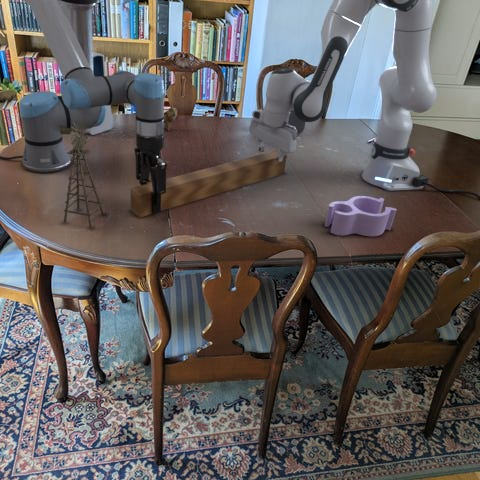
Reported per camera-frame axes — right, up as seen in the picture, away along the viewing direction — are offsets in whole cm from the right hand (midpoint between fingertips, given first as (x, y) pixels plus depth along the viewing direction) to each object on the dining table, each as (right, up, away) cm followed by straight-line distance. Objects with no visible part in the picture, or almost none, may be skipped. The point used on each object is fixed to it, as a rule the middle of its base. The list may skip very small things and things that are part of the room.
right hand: (269, 156), depth 165 cm
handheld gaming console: (+7, +19, +43) cm, 47 cm away
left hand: (-37, -20, -25) cm, 49 cm away
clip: (+25, -26, -22) cm, 42 cm away
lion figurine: (-44, +17, +32) cm, 57 cm away
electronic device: (-69, +15, +25) cm, 75 cm away
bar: (-19, -13, -11) cm, 25 cm away
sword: (+58, +17, +50) cm, 78 cm away
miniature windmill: (-55, -24, -33) cm, 68 cm away
